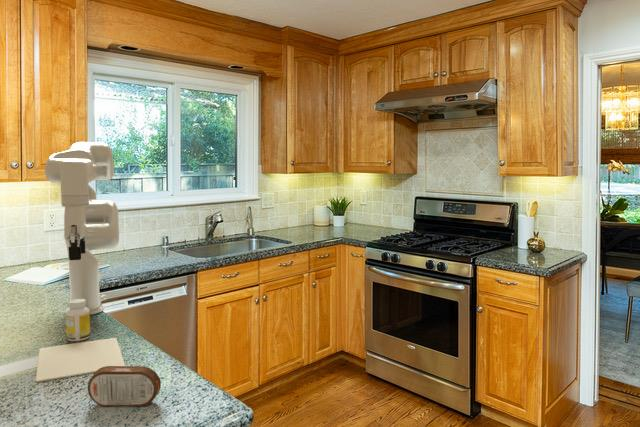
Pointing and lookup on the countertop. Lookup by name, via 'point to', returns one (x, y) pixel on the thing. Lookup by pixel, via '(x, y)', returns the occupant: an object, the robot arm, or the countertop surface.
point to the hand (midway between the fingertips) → (77, 256)
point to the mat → (77, 359)
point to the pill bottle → (77, 320)
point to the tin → (124, 386)
